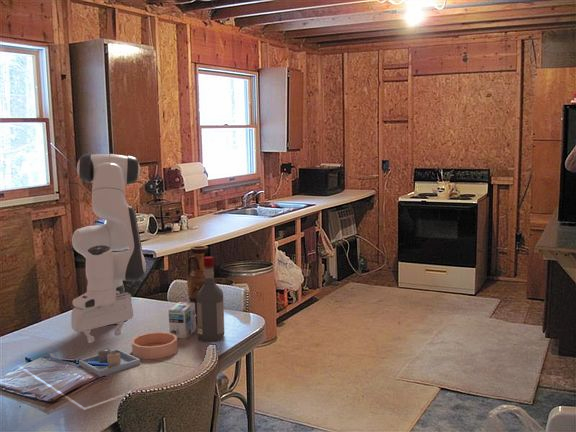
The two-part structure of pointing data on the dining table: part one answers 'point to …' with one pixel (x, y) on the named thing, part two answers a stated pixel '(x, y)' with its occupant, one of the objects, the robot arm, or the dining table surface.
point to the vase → (196, 274)
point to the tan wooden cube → (113, 359)
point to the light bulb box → (182, 319)
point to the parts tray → (101, 371)
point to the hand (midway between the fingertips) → (104, 338)
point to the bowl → (154, 345)
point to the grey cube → (103, 355)
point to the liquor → (210, 307)
